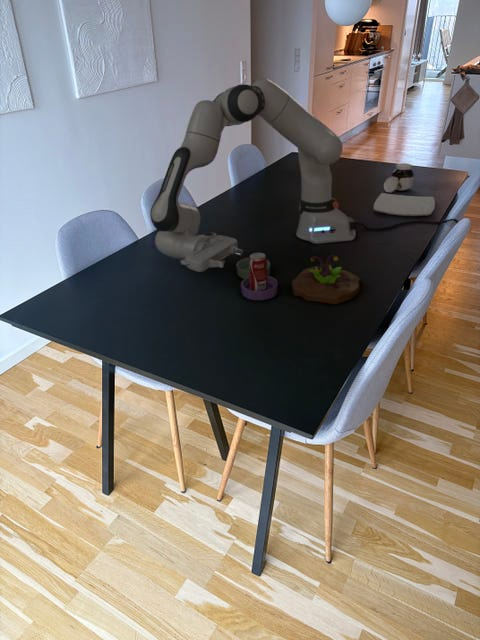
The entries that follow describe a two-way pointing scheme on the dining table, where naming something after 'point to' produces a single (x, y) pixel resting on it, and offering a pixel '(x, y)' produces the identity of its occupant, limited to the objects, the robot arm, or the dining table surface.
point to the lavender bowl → (259, 295)
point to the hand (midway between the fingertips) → (233, 258)
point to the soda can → (258, 272)
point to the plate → (404, 205)
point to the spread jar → (400, 179)
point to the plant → (326, 283)
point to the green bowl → (247, 268)
